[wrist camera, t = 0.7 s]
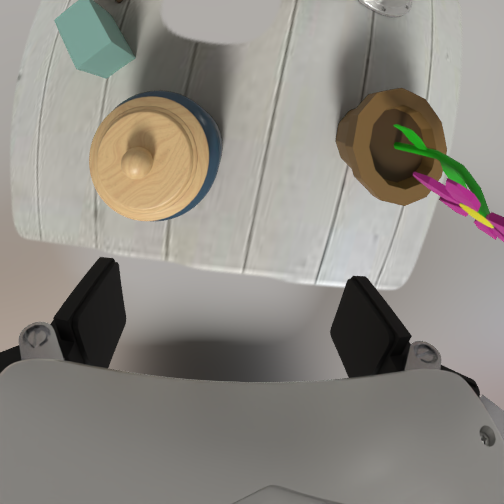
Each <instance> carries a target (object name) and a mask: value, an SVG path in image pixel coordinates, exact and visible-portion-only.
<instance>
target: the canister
mask: <svg viewBox="0 0 504 504" xmlns="http://www.w3.org/2000/svg"><path fill="white" fill-rule="evenodd" d="M221 156H222V138H221V134H220V131H219V128H218V126H217V124H216V122H215V121H214V119H213V118H212V117H211V116H210V115H209V114H208V113H207V112H206V111H205V110H204V109H202V108H201V107H200V106H199V105H198V104H196V103H195V102H194V101H192V100H191V99H189V98H187V97H185V96H183V95H180V94H177V93H174V92H169V91H149V92H144V93H140V94H137V95H135V96H133V97H130V98H128V99H127V100H125V101H124V102H122V103H121V104H119V105H118V106H117V107H116V108H115V109H114V110H113V111H112V112H111V113H110V114H109V115H108V116H107V117H106V118H105V119H104V120H103V122H102V123H101V124H100V126H99V127H98V129H97V131H96V133H95V135H94V138H93V141H92V144H91V148H90V156H89V166H90V173H91V178H92V181H93V184H94V186H95V188H96V190H97V192H98V194H99V195H100V197H101V198H102V199H103V201H104V202H105V203H106V204H107V205H108V206H109V207H110V208H112V209H113V210H114V211H116V212H117V213H119V214H121V215H123V216H125V217H127V218H130V219H134V220H139V221H164V220H169V219H172V218H175V217H178V216H180V215H183V214H184V213H186V212H188V211H189V210H191V209H192V208H194V207H195V206H196V205H197V204H198V203H199V202H200V201H201V200H202V199H203V198H204V197H205V196H206V194H207V193H208V191H209V190H210V188H211V186H212V184H213V182H214V180H215V178H216V175H217V172H218V168H219V164H220V160H221Z"/></svg>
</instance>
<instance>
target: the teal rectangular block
mask: <svg viewBox="0 0 504 504" xmlns="http://www.w3.org/2000/svg"><path fill="white" fill-rule="evenodd" d="M54 21H55V23H56V25H57V28H58V30H59V32H60V35H61V37H62V39H63V41H64V44H65V46H66V48H67V50H68V52H69V54H70V56H71V59H72V61H73V63H74V65H75V67H76V69H78V70H81V71H85V72H88V73H91V74H94V75H97V76H100V77H103V78H106V79H107V78H108V77H109V76H111V75H112V74H113V73H115V72H116V71H118V70H119V69H120V68H122V67H123V66H125V65H126V64H128V63H129V62H131V61H132V60H134V59H135V56H134V54H133V53H132V51H131V49H130V47H129V46H128V44H127V42H126V40H125V39H124V37H123V35H122V33H121V32H120V30H119V28H118V26H117V25H116V23H115V21H114V19H113V18H112V16H111V15H110V14H109V13H108V12H107V11H106V10H104V9H103V8H102V7H101V6H99V5H98V4H97V3H96V2H94V1H93V0H78V1H77V2H76V3H74V4H73V5H72V6H71V7H69V8H68V9H67V10H66V11H64V12H63V13H62V14H61V15H60V16H59V17H57V18H56V19H55V20H54Z"/></svg>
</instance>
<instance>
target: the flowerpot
mask: <svg viewBox="0 0 504 504" xmlns="http://www.w3.org/2000/svg"><path fill="white" fill-rule="evenodd" d="M336 144H337V147H338V150H339V153H340V156H341V158H342V159H343V160H344V161H345V162H346V163H347V164H348V165H349V166H350V167H351V168H352V171H353V174H354V177H355V178H356V179H357V180H358V181H359V182H360V183H361V184H362V185H363V186H364V187H365V188H366V189H367V190H368V191H369V192H370V193H371V194H372V195H373V196H374V197H376V198H378V199H380V200H382V201H386V202H390V203H395V204H399V205H403V206H406V205H408V204H411V203H413V202H415V201H418V200H420V199H422V198H425V197H427V195H428V194H429V193H430V191H433V192H435V193H436V194H438V195H439V196H441V197H440V199H439V200H440V201H442V202H443V203H444V204H446V205H448V206H449V207H450V208H451V209H452V210H454V211H455V212H457V213H459V214H461V215H463V216H467V215H468V214H469V215H471V216H472V217H473V218H475V221H474V223H475V224H476V226H477V227H478V228H479V229H480V230H482V231H483V232H485V233H486V234H488V235H489V236H491V237H492V238H494V239H496V238H497V236H498V238H499V239H501V240H502V241H503V242H504V217H502V216H499V215H497V214H495V213H490V212H489V209H488V206H487V204H486V201H485V198H484V195H483V193H482V190H481V188H480V186H479V185H478V184H477V183H476V181H475V180H474V178H473V177H472V175H471V174H470V173H469V172H468V170H467V169H466V168H465V167H464V166H463V165H462V164H460V163H459V162H457V161H455V160H454V159H452V158H450V157H449V156H447V155H446V152H447V147H446V142H445V137H444V132H443V127H442V122H441V121H440V119H439V118H438V116H437V115H436V113H435V112H434V110H433V109H432V108H431V106H430V105H429V103H428V102H427V101H426V99H424V98H422V97H420V96H418V95H416V94H414V93H412V92H410V91H407V90H405V89H403V88H398V89H391V90H386V91H381V92H376V93H372V94H368V95H367V97H366V98H365V99H364V100H363V101H362V102H361V103H360V105H359V106H358V107H357V108H355V109H353V110H350V111H349V112H348V113H347V114H346V115H345V117H344V118H343V119H342V120H341V121H340V122H339V124H338V130H337V136H336ZM443 171H444V172H445V174H446V175H447V177H448V179H447V181H446V186H445V185H443V184H441V183H440V182H438V181H439V179H440V178H441V176H442V172H443ZM465 183H466V184H467V186H468V187H469V189H470V190H471V191H469V190H468V189H467V187H466V184H465Z"/></svg>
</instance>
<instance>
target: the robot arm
mask: <svg viewBox="0 0 504 504" xmlns="http://www.w3.org/2000/svg"><path fill="white" fill-rule="evenodd" d="M359 1H360V2H361V3H362V4H364V5H365V6H366V7H368V8H369V9H371V10H373V11H375V12H377V13H379V14H382V15H385V16H390V17H398V16H402V15H404V14H406V13H407V12H409V11H410V9H411V7H412V0H359ZM125 324H126V313H125V307H124V301H123V294H122V287H121V280H120V271H119V264H118V263H117V262H115V260H114V259H113V258H104V257H100V258H99V259H98V260H97V261H96V262H95V264H94V265H93V266H92V267H91V269H90V270H89V271H88V272H87V274H86V275H85V276H84V277H83V279H82V280H81V281H80V282H79V284H78V285H77V286H76V288H75V289H74V290H73V292H72V293H71V294H70V296H69V297H68V298H67V300H66V301H65V302H64V304H63V305H62V307H61V308H60V309H59V311H58V312H57V313H56V315H55V316H54V320H53V321H52V323H51V324H48V323H45V322H36V323H32V324H30V325H28V326H27V327H25V328H24V329H23V330H22V332H21V333H20V336H19V345H18V346H16V347H13V348H11V349H8V350H6V351H3V352H0V504H504V411H503V410H502V409H501V408H499V407H498V406H497V405H495V404H494V403H493V402H492V401H490V400H489V399H488V398H486V397H485V396H484V395H482V396H481V397H479V395H480V392H479V388H478V386H477V384H476V382H475V381H474V380H472V379H471V378H468V377H466V376H464V375H461V374H459V373H457V372H455V371H453V370H451V369H449V368H447V367H444V366H442V365H441V356H440V353H439V352H438V350H437V349H436V348H435V347H434V346H432V345H431V344H429V343H427V342H423V341H416V342H414V343H412V344H410V343H409V340H410V338H411V335H410V333H409V332H408V330H407V329H406V328H405V326H404V325H403V324H402V322H401V321H400V320H399V318H398V317H397V316H396V314H395V313H394V312H393V310H392V309H391V308H390V306H389V305H388V304H387V302H386V301H385V300H384V299H383V297H382V296H381V295H380V294H379V292H378V291H377V290H376V288H375V287H374V286H373V285H372V283H371V282H370V281H369V280H368V278H367V277H365V276H353V277H352V278H351V279H349V280H348V281H347V283H346V286H345V289H344V292H343V295H342V298H341V301H340V304H339V307H338V310H337V313H336V316H335V318H334V321H333V324H332V327H331V331H330V333H331V337H332V339H333V342H334V344H335V347H336V349H337V351H338V353H339V356H340V358H341V360H342V362H343V365H344V367H345V370H346V372H347V374H348V377H349V378H344V379H333V380H320V381H303V382H265V383H264V382H221V381H204V380H190V379H179V378H169V377H161V376H153V375H145V374H138V373H132V372H126V371H120V370H114V369H108V367H109V364H110V361H111V359H112V356H113V354H114V351H115V348H116V346H117V343H118V341H119V338H120V336H121V334H122V331H123V329H124V326H125Z"/></svg>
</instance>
